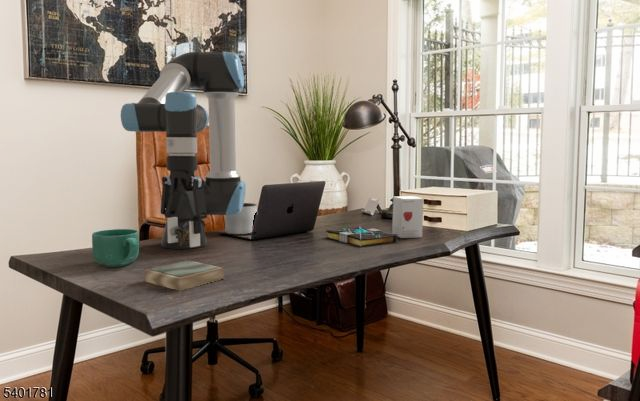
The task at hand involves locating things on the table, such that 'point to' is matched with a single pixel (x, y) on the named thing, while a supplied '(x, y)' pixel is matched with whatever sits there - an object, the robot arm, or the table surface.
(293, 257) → the table surface
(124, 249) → the mug
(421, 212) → the supplement box
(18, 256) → the table surface
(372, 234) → the book
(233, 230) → the planter
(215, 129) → the robot arm
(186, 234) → the brown animal figurine
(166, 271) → the pedestal
